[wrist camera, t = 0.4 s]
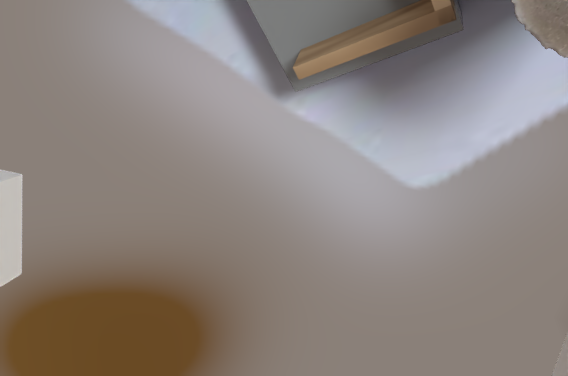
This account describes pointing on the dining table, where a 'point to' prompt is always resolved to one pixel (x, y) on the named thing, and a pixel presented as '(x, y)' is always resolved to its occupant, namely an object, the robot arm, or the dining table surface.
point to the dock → (332, 30)
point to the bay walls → (374, 35)
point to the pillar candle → (545, 22)
